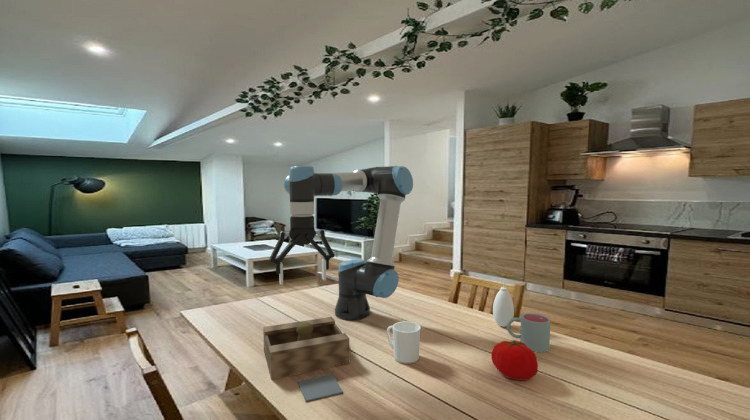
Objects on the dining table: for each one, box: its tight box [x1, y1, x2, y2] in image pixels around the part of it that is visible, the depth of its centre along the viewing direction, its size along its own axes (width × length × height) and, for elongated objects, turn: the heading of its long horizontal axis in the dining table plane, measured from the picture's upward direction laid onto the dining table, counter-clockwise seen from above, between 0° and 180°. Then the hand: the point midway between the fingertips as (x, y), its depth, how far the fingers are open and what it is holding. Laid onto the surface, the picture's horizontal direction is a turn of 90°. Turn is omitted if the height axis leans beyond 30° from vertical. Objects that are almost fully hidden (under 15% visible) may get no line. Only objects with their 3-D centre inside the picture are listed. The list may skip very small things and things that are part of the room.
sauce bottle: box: [492, 281, 515, 328], centre depth 139 cm, size 8×8×18 cm
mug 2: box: [506, 312, 551, 353], centre depth 123 cm, size 14×9×10 cm
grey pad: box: [297, 373, 344, 403], centre depth 97 cm, size 10×10×1 cm
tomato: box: [490, 339, 539, 381], centre depth 103 cm, size 11×13×10 cm
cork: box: [296, 322, 313, 341], centre depth 114 cm, size 6×6×11 cm
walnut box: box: [262, 316, 350, 381], centre depth 114 cm, size 24×20×8 cm
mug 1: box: [386, 320, 422, 365], centre depth 114 cm, size 11×9×10 cm
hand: (303, 281), depth 113 cm, fingers open, 13 cm apart
